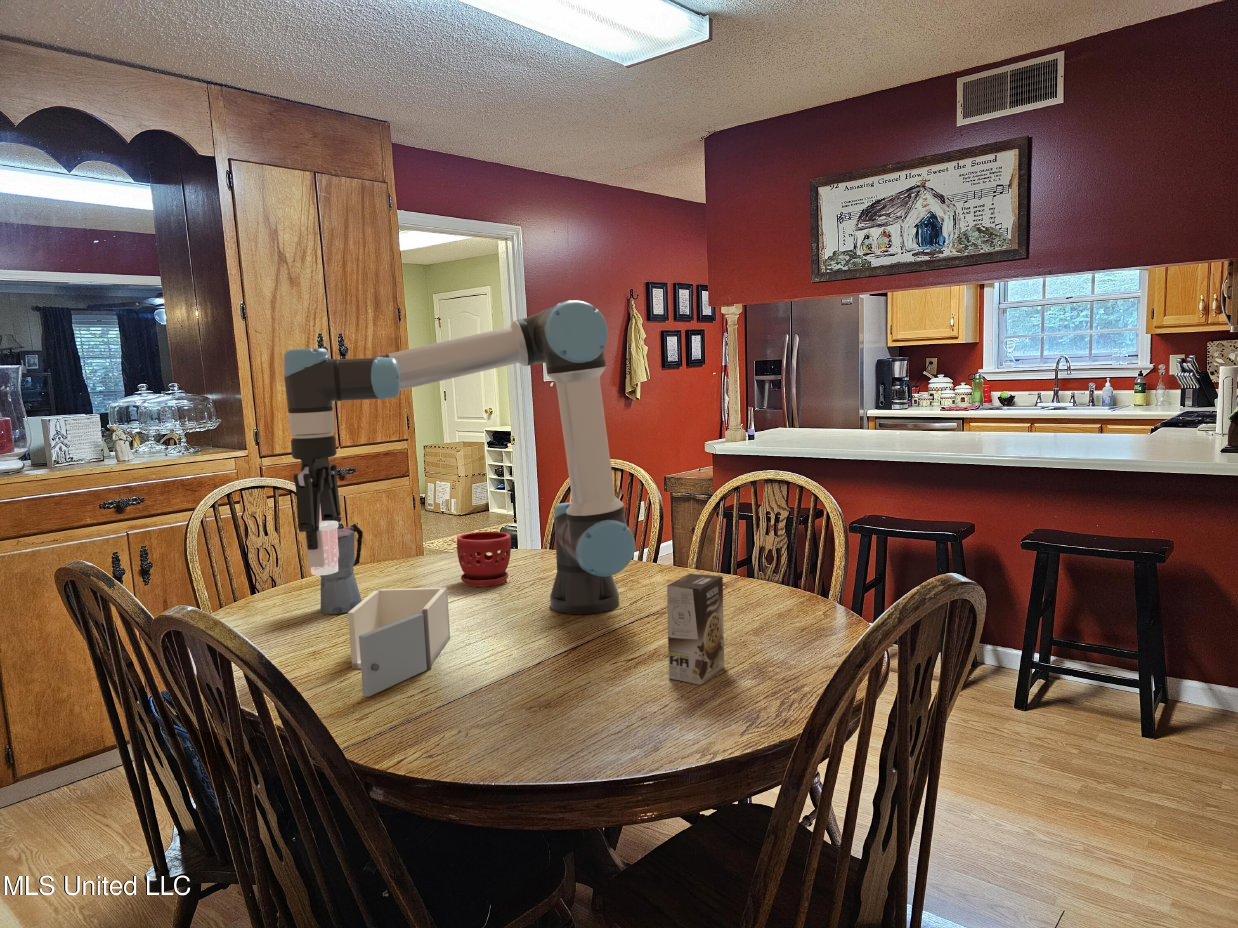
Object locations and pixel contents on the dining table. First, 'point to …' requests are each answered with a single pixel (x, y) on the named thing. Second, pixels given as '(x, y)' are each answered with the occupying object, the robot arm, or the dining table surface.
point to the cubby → (402, 617)
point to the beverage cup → (328, 547)
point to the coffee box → (695, 628)
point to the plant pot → (484, 557)
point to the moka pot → (342, 575)
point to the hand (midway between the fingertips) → (324, 561)
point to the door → (392, 654)
